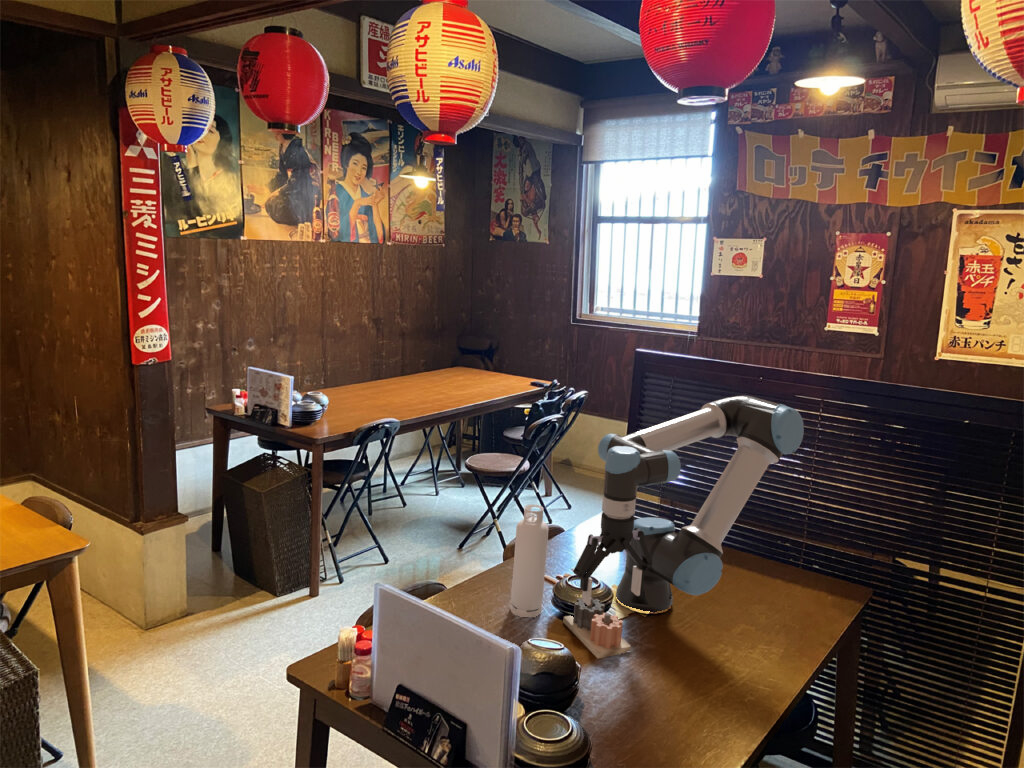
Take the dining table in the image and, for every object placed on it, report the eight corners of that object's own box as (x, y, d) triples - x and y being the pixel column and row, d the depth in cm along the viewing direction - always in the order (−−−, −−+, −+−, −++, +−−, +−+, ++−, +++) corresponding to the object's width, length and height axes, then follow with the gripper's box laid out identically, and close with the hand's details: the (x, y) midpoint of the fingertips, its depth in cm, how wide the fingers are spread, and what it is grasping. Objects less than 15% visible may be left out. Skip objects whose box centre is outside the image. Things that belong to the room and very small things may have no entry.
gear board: (594, 616, 189) (596, 588, 188) (630, 652, 174) (633, 621, 173) (563, 622, 186) (565, 592, 184) (597, 658, 170) (600, 627, 169)
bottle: (545, 606, 193) (554, 505, 187) (536, 621, 185) (544, 516, 180) (516, 599, 195) (523, 500, 190) (506, 613, 188) (513, 510, 182)
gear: (610, 629, 181) (612, 611, 180) (626, 645, 174) (628, 625, 173) (584, 634, 178) (586, 615, 177) (600, 650, 171) (602, 630, 170)
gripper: (578, 526, 161) (572, 614, 166) (672, 513, 171) (664, 596, 176) (562, 513, 168) (557, 598, 172) (653, 501, 178) (646, 582, 182)
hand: (611, 598), depth 174 cm, fingers open, 13 cm apart
